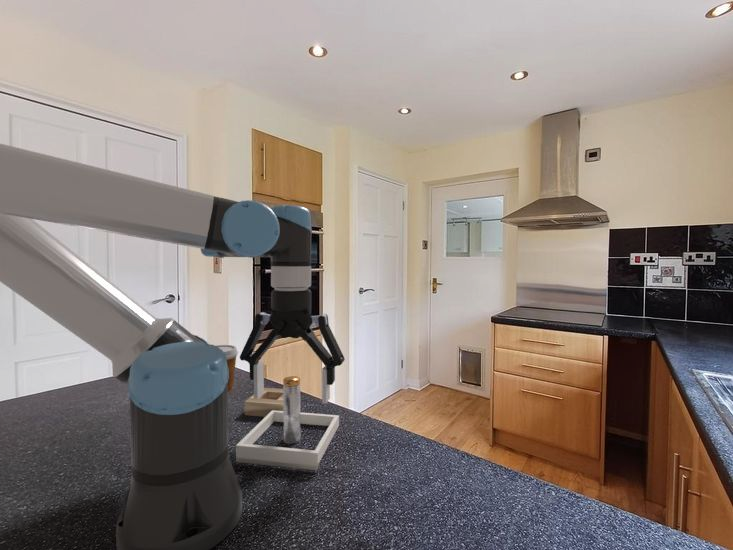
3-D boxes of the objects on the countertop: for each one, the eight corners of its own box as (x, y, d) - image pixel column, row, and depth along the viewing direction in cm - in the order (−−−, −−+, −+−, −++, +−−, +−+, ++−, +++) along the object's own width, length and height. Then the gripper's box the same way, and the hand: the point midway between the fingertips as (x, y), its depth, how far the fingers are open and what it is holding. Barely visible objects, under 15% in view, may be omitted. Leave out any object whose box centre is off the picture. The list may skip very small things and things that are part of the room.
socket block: (282, 422, 79) (282, 404, 78) (244, 419, 80) (244, 401, 80) (297, 405, 87) (297, 389, 87) (262, 403, 89) (262, 387, 89)
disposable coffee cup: (230, 400, 91) (229, 353, 90) (193, 399, 91) (192, 353, 91) (243, 386, 100) (243, 344, 100) (210, 386, 101) (209, 344, 100)
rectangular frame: (317, 470, 61) (317, 453, 61) (236, 461, 63) (235, 445, 63) (339, 429, 75) (339, 415, 75) (272, 423, 78) (272, 410, 78)
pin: (297, 444, 67) (296, 381, 67) (281, 443, 68) (280, 380, 68) (302, 436, 71) (302, 376, 70) (287, 435, 71) (287, 375, 71)
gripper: (359, 288, 70) (359, 395, 71) (240, 286, 74) (241, 387, 75) (351, 291, 62) (351, 411, 63) (220, 289, 66) (221, 401, 67)
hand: (291, 398), depth 69 cm, fingers open, 13 cm apart
